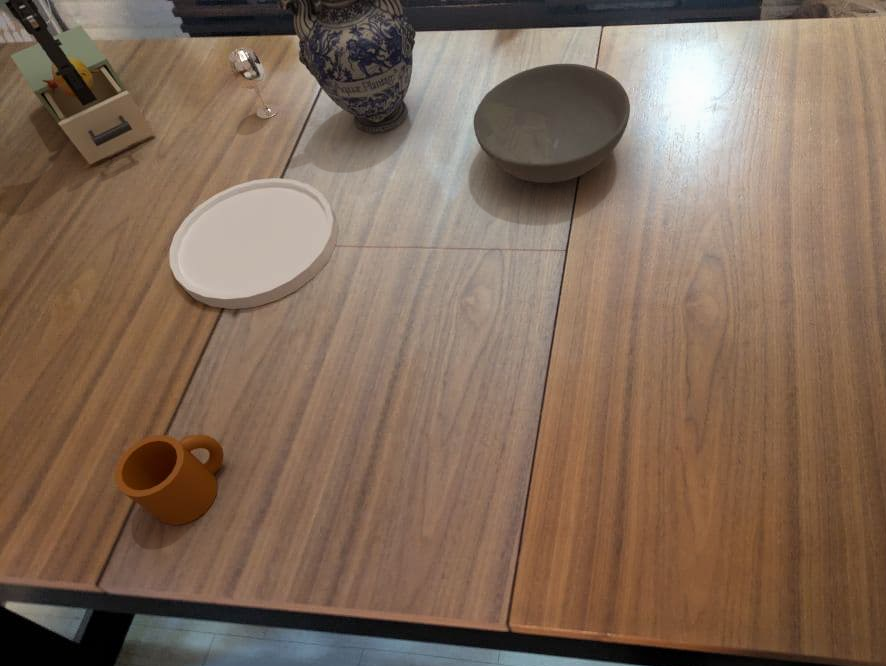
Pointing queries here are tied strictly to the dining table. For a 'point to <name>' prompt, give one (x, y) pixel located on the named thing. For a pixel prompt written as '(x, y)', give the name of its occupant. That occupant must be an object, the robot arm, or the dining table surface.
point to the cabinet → (39, 65)
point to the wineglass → (251, 76)
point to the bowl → (552, 121)
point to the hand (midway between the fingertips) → (82, 92)
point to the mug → (170, 476)
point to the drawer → (100, 118)
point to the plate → (253, 243)
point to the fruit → (61, 83)
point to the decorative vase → (358, 56)
